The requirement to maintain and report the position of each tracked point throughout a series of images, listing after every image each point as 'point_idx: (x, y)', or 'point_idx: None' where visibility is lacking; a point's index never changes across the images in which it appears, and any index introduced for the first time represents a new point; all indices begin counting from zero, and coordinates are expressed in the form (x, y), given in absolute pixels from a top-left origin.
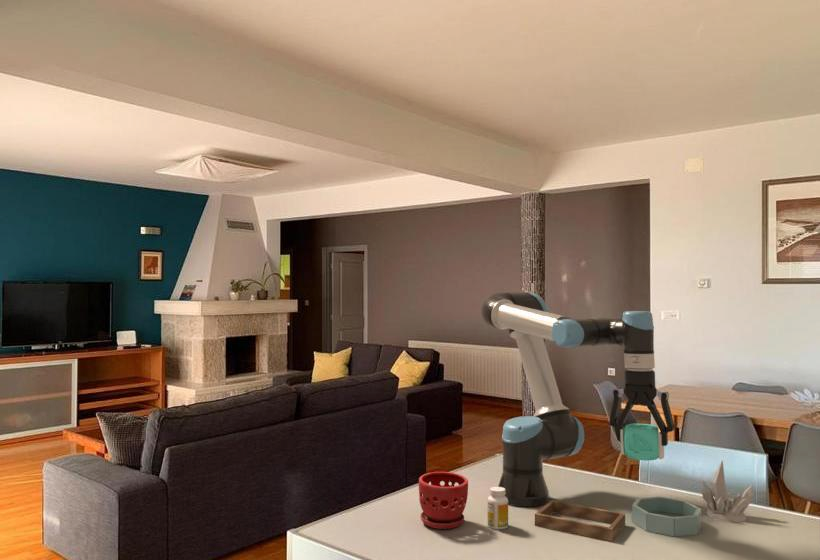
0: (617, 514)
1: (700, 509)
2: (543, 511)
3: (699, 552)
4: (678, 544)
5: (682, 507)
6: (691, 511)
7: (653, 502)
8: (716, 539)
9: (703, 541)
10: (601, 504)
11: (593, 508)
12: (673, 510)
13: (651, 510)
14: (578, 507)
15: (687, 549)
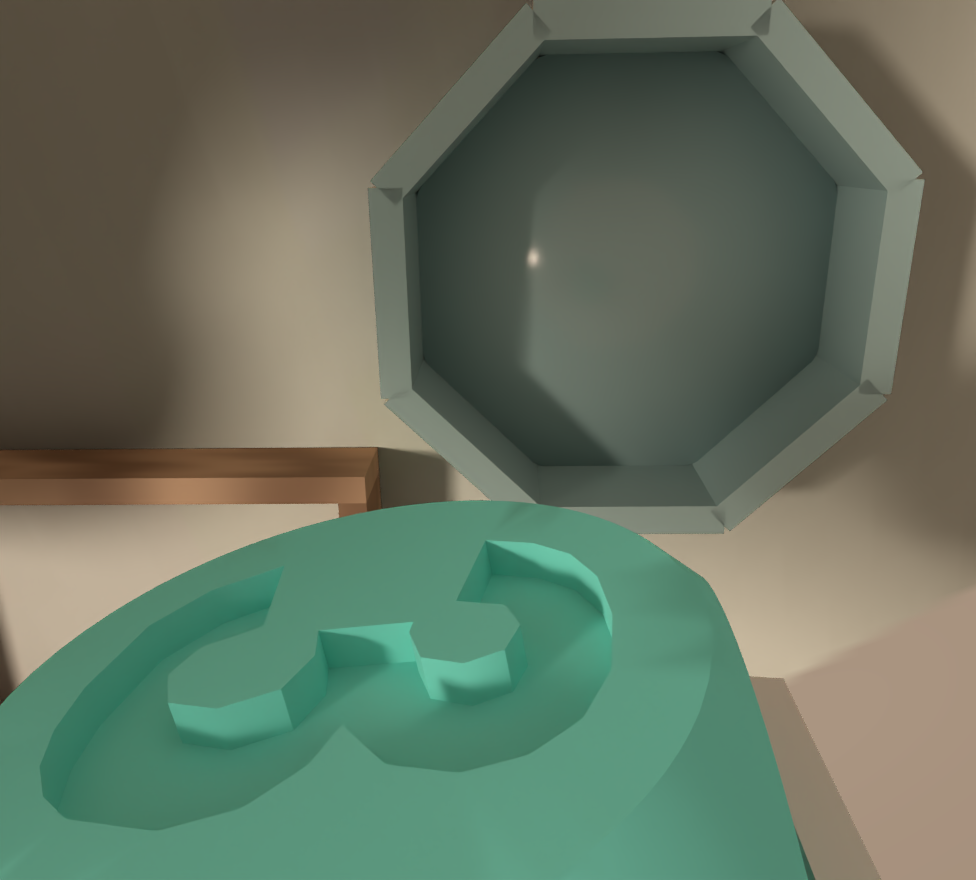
0: (318, 499)
1: (917, 199)
2: None
3: (849, 635)
4: (732, 584)
5: (737, 41)
6: (820, 135)
7: (492, 101)
8: (953, 385)
9: (872, 463)
10: (60, 87)
11: (135, 493)
12: (651, 49)
13: (479, 121)
14: (32, 500)
15: (785, 628)
